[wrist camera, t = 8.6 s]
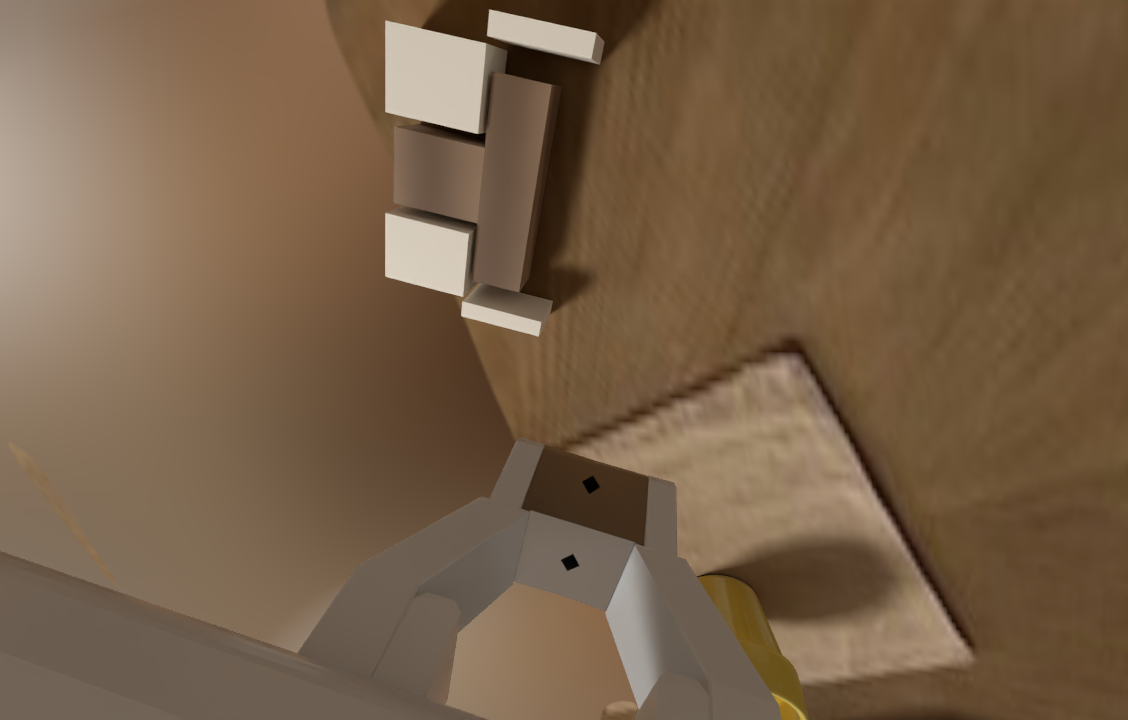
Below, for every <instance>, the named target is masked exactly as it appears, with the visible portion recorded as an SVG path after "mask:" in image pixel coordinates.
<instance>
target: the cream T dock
mask: <svg viewBox="0 0 1128 720" xmlns="http://www.w3.org/2000/svg"><path fill="white" fill-rule="evenodd" d="M487 36H489V37H492V38H494V39H497V40H499V41H502V42H504V43H507V44H511V45H515V46H519V47H524V48H528V49H533V50H537V51H542V52H546V53H551V54H555V55H559V56H564V57H568V58H573V59H577V60H582V61H586V62H591V63H595V64H599V65H600V63H601V58H602V53H603V48H604V43H605V42H604V41H603V40H602V39H601V37H600V36H599V35H598V34H597V33H594V32H590V31H585V30H580V29H576V28H571V27H567V26H562V25H558V24H553V23H549V22H544V21H540V20H535V19H531V18H526V17H522V16H517V15H513V14H508V13H503V12H499V11H494V10H490V9H489V19H488V30H487ZM507 52H508V51H507V50H504V49H501V48H498V47H495V46H492V45H490V44H487V43H482V42H478V41H474V40H469V39H465V38H460V37H456V36H451V35H447V34H442V33H438V32H434V31H429V30H425V29H420V28H416V27H411V26H407V25H403V24H398V23H394V22H389V21H386V112H387V113H392V114H396V115H400V116H404V117H408V118H413V119H417V120H421V121H425V122H429V123H434V124H438V125H442V126H446V127H450V128H455V129H459V130H463V131H467V132H471V133H476V134H481V133H486V130H487V120H488V110H489V100H490V90H491V80H492V71H493V72H499V73H504V74H505V70H506V61H507ZM385 216H386V217H385V218H386V219H385V220H386V223H385V225H386V226H385V227H386V228H385V229H386V231H385V234H386V235H385V239H386V240H385V245H386V246H385V247H386V249H385V251H386V252H385V253H386V255H385V256H386V260H385V264H386V265H385V269H386V270H385V271H386V273H385V275H386V277H389V278H393V279H396V280H401V281H404V282H408V283H412V284H415V285H419V286H423V287H427V288H431V289H435V290H439V291H442V292H446V293H450V294H454V295H458V296H461V297H463V296H464V295H466V294H467V293H468V292H469V291H470V290H471V289H472V288H473V287H474V286H475V285H476V284H477V283H478V282H475V281H471V280H472V270H473V260H474V250H475V240H476V230H477V223H474V222H469V221H465V220H461V219H457V218H453V217H449V216H445V215H441V214H437V213H433V212H429V211H425V210H421V209H417V208H412V207H408V206H402V207H399V208H397V209H394V210H392V211H389V212H387V213H386V215H385ZM552 304H553V301H551V300H548V299H544V298H540V297H536V296H532V295H528V294H524V293H520V292H515V291H511V290H507V289H503V288H499V287H495V286H491V285H487V284H483V283H481V284H480V285H479V286H478V287H477V288H476V289H475V290H474V291H473V292H472V293H471V294H470V295H469V296H468V297H467V298H466V299H465V300H464V301H463V302H462V313H461V316H463V317H467V318H471V319H475V320H478V321H482V322H486V323H490V324H493V325H497V326H501V327H505V328H509V329H512V330H516V331H520V332H524V333H528V334H531V335H535V336H539V335H540V333H541V331H542V329H543V327H544V325H545V324H546V322H547V320H548V318H549V316H550V314H551V309H552Z"/></svg>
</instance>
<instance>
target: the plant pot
mask: <svg viewBox="0 0 1128 720" xmlns="http://www.w3.org/2000/svg"><path fill="white" fill-rule="evenodd" d="M698 579H699V581H700V583H701V584H702V586H703V587H704V589H705V590H706V592H707V593H708V595H709V597H710V598H711V600H712V601H713V603H714V604H715V606H716V607H717V609H718V611H719V612H720V614H721V615H722V617H723V618H724V620H725V622H726V623H727V625H728V626H729V628H730V629H731V631H732V632H733V634H734V636H735V637H736V639H737V640H738V642H739V643H740V645H741V646H742V648H743V650H744V651H745V653H746V654H747V656H748V657H749V659H750V661H751V662H752V664H753V665H754V667H755V668H756V670H757V671H758V673H759V675H760V676H761V678H762V679H763V681H764V682H765V684H766V685H767V687H768V689H769V690H770V692H771V693H772V695H773V696H774V698H775V700H776V701H777V703H778V704H779V708H780V714H781V719H782V720H809V717H808V712H807V708H806V704H805V700H804V695H803V692H802V688H801V685H800V681H799V678H798V675H797V672H796V670H795V668H794V667H793V665H792V664H791V663H790V662H789V661H788V660H787V659H786V658H785V657H784V656H783V655H782V653H781V651H780V649H779V646H778V644H777V642H776V639H775V637H774V635H773V633H772V630H771V628H770V626H769V623H768V621H767V619H766V616H765V614H764V612H763V609H762V607H761V604H760V602H759V600H758V598H757V596H756V594H755V592H754V591H753V590H752V589H751V588H750V587H749V586H748V585H747V584H745V583H744V582H742V581H740V580H738V579H735V578H732V577H728V576H723V575H707V576H701V577H698Z"/></svg>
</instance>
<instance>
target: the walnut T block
mask: <svg viewBox="0 0 1128 720" xmlns="http://www.w3.org/2000/svg"><path fill="white" fill-rule="evenodd" d="M561 90H562V87H561V86H557V85H553V84H548V83H544V82H539V81H535V80H531V79H526V78H522V77H518V76H513V75H509V74H504V73H499V72H493V71H492V80H491V90H490V100H489V110H488V120H487V130H486V140H483V139H479V138H474V137H470V136H466V135H462V134H458V133H453V132H449V131H445V130H441V129H436V128H432V127H428V126H424V125H420V124H418V125H407V126H396V127H394V203H397V204H401V205H404V206H408V207H412V208H417V209H421V210H425V211H429V212H433V213H437V214H441V215H445V216H449V217H453V218H457V219H461V220H465V221H469V222H474V223H477V230H476V240H475V250H474V260H473V270H472V280H471V281H475V282H479V283H483V284H487V285H491V286H495V287H499V288H503V289H507V290H511V291H515V292H520V290H521V289H522V288H523V286H524V285H525V283H526V282H527V281H528V279H529V278H530V275H531V269H532V263H533V257H534V251H535V245H536V239H537V233H538V228H539V222H540V216H541V210H542V204H543V198H544V192H545V186H546V180H547V174H548V168H549V162H550V156H551V150H552V144H553V138H554V132H555V126H556V120H557V114H558V108H559V102H560V96H561Z"/></svg>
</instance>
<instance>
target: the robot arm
mask: <svg viewBox="0 0 1128 720" xmlns="http://www.w3.org/2000/svg"><path fill="white" fill-rule="evenodd" d="M513 581H514V582H517V583H521V584H524V585H528V586H531V587H535V588H538V589H541V590H545V591H548V592H552V593H555V594H559V595H562V596H564V597H567V598H570V599H573V600H576V601H579V602H581V603H584V604H587V605H591V606H593V607H596V608H599V609H601V610H605V611H606V617H607V620H608V622H609V625H610V628H611V631H612V633H613V636H614V640H615V642H616V645H617V648H618V651H619V654H620V657H621V659H622V662H623V665H624V668H625V671H626V674H627V676H628V679H629V682H630V685H631V688H632V691H633V693H634V696H635V699H636V702H637V705H638V708H639V711H638V712H637V714H636V715H635V717H634V719H633V720H782V719H781V714H780V708H779V704H778V703H777V701H776V700H775V698H774V696H773V695H772V693H771V692H770V690H769V689H768V687H767V685H766V684H765V682H764V681H763V679H762V678H761V676H760V675H759V673H758V671H757V670H756V668H755V667H754V665H753V664H752V662H751V661H750V659H749V657H748V656H747V654H746V653H745V651H744V650H743V648H742V646H741V645H740V643H739V642H738V640H737V639H736V637H735V636H734V634H733V632H732V631H731V629H730V628H729V626H728V625H727V623H726V622H725V620H724V618H723V617H722V615H721V614H720V612H719V611H718V609H717V607H716V606H715V604H714V603H713V601H712V600H711V598H710V597H709V595H708V593H707V592H706V590H705V589H704V587H703V586H702V584H701V583H700V581H699V579H698V578H697V576H696V575H695V573H694V572H693V570H692V568H691V567H690V565H689V564H688V562H687V561H686V560H685V559H682V558H679V557H677V502H676V486H675V484H674V483H673V482H670V481H666V480H662V479H659V478H655V477H651V476H646V475H643V474H639V473H636V472H632V471H629V470H625V469H622V468H618V467H615V466H611V465H608V464H605V463H601V462H598V461H594V460H591V459H588V458H585V457H582V456H579V455H576V454H572V453H569V452H566V451H563V450H560V449H557V448H554V447H551V446H548V445H546V446H545V445H543V444H540V443H537V442H533V441H530V440H527V439H524V438H521V437H520V438H519V439H518V440H517V441H516V443H515V445H514V447H513V449H512V452H511V454H510V456H509V458H508V460H507V462H506V464H505V467H504V469H503V471H502V473H501V475H500V477H499V479H498V482H497V484H496V486H495V488H494V490H493V492H492V495H491V497H490V499H488V498H485V497H480V498H478V499H476V500H474V501H473V502H471V503H469V504H467V505H466V506H464V507H462V508H460V509H458V510H457V511H455V512H453V513H451V514H449V515H448V516H446V517H444V518H442V519H440V520H439V521H437V522H435V523H433V524H431V525H430V526H428V527H426V528H424V529H422V530H421V531H419V532H417V533H415V534H414V535H412V536H410V537H408V538H407V539H405V540H403V541H401V542H399V543H397V544H396V545H394V546H392V547H390V548H389V549H387V550H385V551H383V552H381V553H380V554H378V555H376V556H374V557H372V558H370V559H369V560H367V561H365V562H363V563H362V564H360V565H358V566H357V567H356V569H355V570H354V571H353V573H352V574H351V576H350V577H349V579H348V580H347V582H346V583H345V585H344V586H343V587H342V589H341V590H340V592H339V593H338V595H337V596H336V598H335V599H334V601H333V602H332V604H331V605H330V606H329V608H328V609H327V611H326V612H325V614H324V615H323V617H322V618H321V619H320V621H319V622H318V624H317V625H316V627H315V628H314V630H313V631H312V633H311V634H310V636H309V637H308V638H307V640H306V641H305V643H304V644H303V646H302V647H301V649H300V650H299V652H298V653H295V652H292V651H289V650H286V649H283V648H280V647H277V646H275V645H272V644H269V643H265V642H263V641H260V640H257V639H254V638H251V637H248V636H245V635H242V634H240V633H236V632H234V631H231V630H228V629H225V628H222V627H219V626H217V625H214V624H211V623H208V622H205V621H202V620H199V619H196V618H194V617H190V616H188V615H185V614H182V613H179V612H176V611H173V610H170V609H167V608H164V607H162V606H159V605H156V604H153V603H150V602H147V601H144V600H141V599H138V598H135V597H133V596H130V595H127V594H124V593H121V592H118V591H115V590H112V589H110V588H107V587H104V586H101V585H98V584H95V583H92V582H89V581H86V580H84V579H81V578H78V577H75V576H72V575H69V574H66V573H63V572H60V571H58V570H55V569H52V568H49V567H46V566H43V565H40V564H37V563H34V562H31V561H28V560H26V559H22V558H20V557H17V556H14V555H11V554H8V553H5V552H2V551H0V720H489V719H486V718H483V717H480V716H477V715H474V714H471V713H468V712H465V711H462V710H460V709H456V708H454V707H450V706H448V705H445V704H446V702H447V699H448V693H449V687H450V680H451V674H452V667H453V660H454V654H455V647H456V641H457V634H458V632H460V631H461V630H462V629H463V628H464V627H465V626H466V625H467V624H469V623H470V622H471V621H472V620H473V619H474V618H475V617H477V616H478V615H479V614H480V613H481V612H482V611H483V610H484V609H486V608H487V607H488V606H489V605H490V604H491V603H492V602H493V601H495V600H496V599H497V598H498V597H499V596H500V595H501V594H502V593H504V592H505V591H506V590H507V589H508V588H509V587H510V586H511V585H512V584H513Z"/></svg>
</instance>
